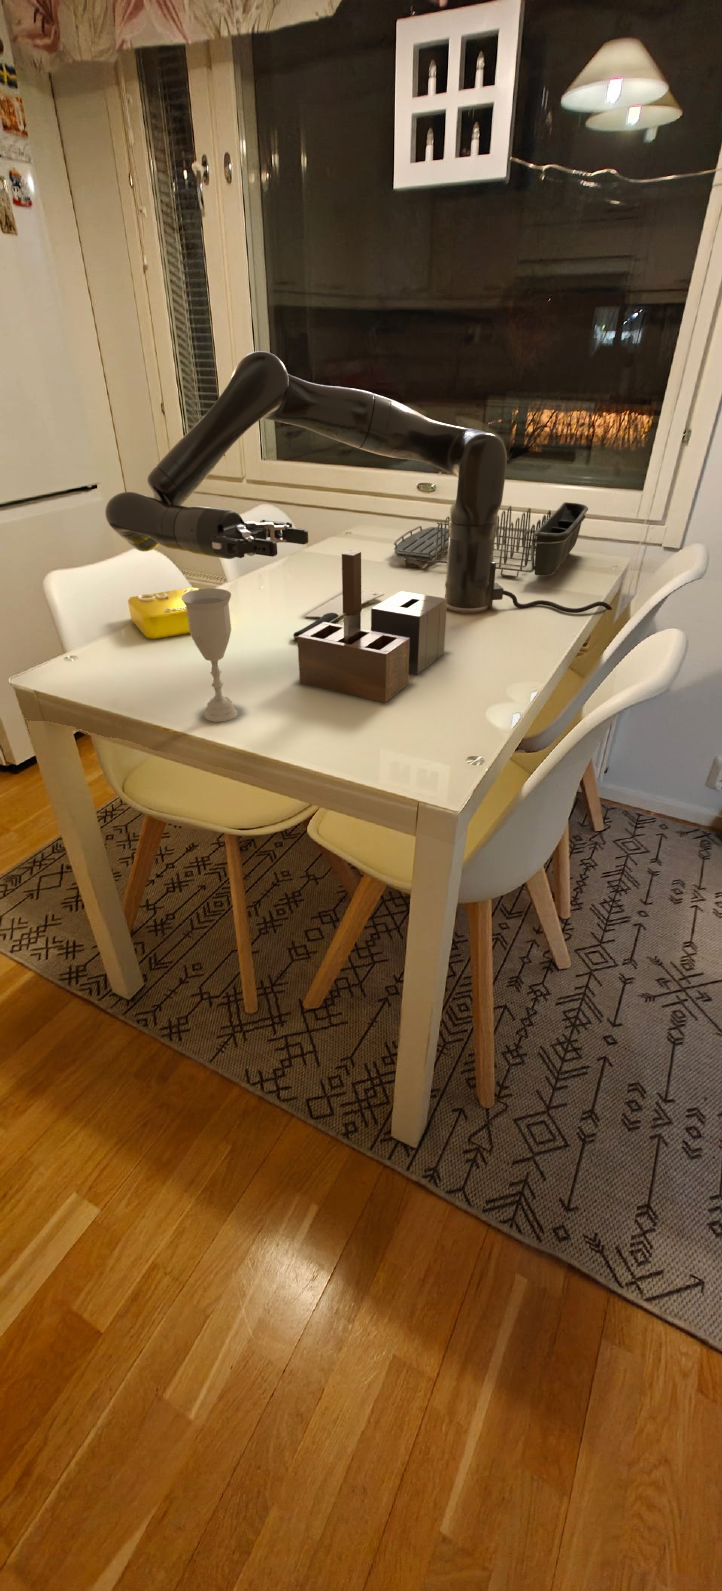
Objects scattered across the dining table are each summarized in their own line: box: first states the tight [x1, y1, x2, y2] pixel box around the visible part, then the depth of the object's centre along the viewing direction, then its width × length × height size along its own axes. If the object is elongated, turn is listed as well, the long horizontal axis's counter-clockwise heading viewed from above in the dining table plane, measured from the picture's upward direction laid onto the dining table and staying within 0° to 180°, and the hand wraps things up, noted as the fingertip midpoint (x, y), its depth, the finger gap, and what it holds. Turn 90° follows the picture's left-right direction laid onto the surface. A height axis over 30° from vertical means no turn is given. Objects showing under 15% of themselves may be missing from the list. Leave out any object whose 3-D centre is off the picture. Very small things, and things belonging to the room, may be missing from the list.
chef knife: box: [341, 550, 362, 645], centre depth 112 cm, size 4×2×21 cm, turn 150°
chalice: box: [181, 587, 239, 723], centre depth 104 cm, size 7×7×18 cm
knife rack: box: [296, 622, 410, 703], centre depth 116 cm, size 8×16×8 cm, turn 61°
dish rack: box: [393, 501, 589, 579], centre depth 181 cm, size 34×44×12 cm
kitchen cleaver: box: [292, 591, 385, 642], centre depth 147 cm, size 31×2×10 cm
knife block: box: [370, 590, 448, 675], centre depth 124 cm, size 11×9×10 cm
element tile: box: [127, 587, 199, 640], centre depth 143 cm, size 15×15×5 cm
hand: (291, 542), depth 111 cm, fingers open, 8 cm apart
